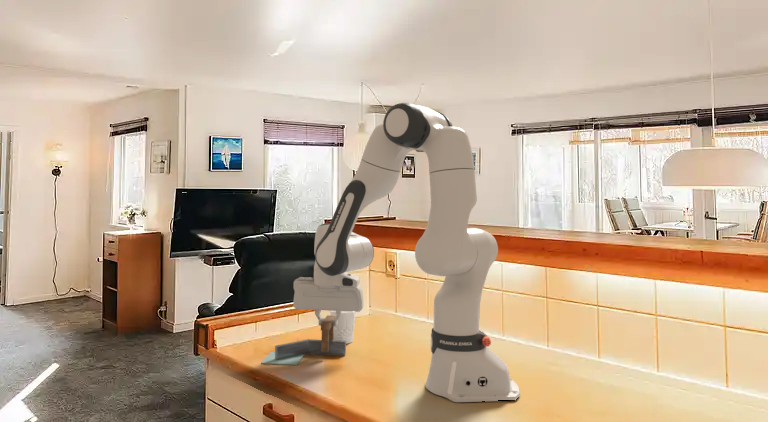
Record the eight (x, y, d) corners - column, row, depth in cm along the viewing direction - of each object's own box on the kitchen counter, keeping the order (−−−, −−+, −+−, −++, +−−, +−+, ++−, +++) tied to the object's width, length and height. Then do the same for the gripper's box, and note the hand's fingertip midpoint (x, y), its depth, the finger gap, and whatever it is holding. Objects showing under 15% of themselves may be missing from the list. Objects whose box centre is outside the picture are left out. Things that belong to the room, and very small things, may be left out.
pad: (305, 354, 153) (305, 353, 153) (297, 365, 143) (297, 364, 143) (271, 352, 153) (271, 351, 153) (260, 363, 143) (261, 362, 143)
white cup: (356, 338, 170) (357, 307, 170) (352, 345, 162) (353, 313, 162) (332, 337, 171) (333, 306, 171) (327, 344, 163) (328, 312, 163)
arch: (334, 342, 158) (335, 315, 157) (328, 352, 148) (329, 323, 148) (326, 341, 158) (327, 315, 158) (320, 351, 148) (320, 323, 148)
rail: (345, 354, 153) (346, 340, 153) (341, 363, 145) (341, 349, 145) (282, 351, 155) (282, 338, 154) (274, 360, 146) (274, 346, 146)
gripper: (291, 278, 150) (290, 326, 150) (362, 281, 148) (361, 329, 149) (296, 274, 156) (295, 321, 157) (364, 277, 155) (363, 324, 155)
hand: (328, 325), depth 153 cm, fingers closed on arch, 2 cm apart
